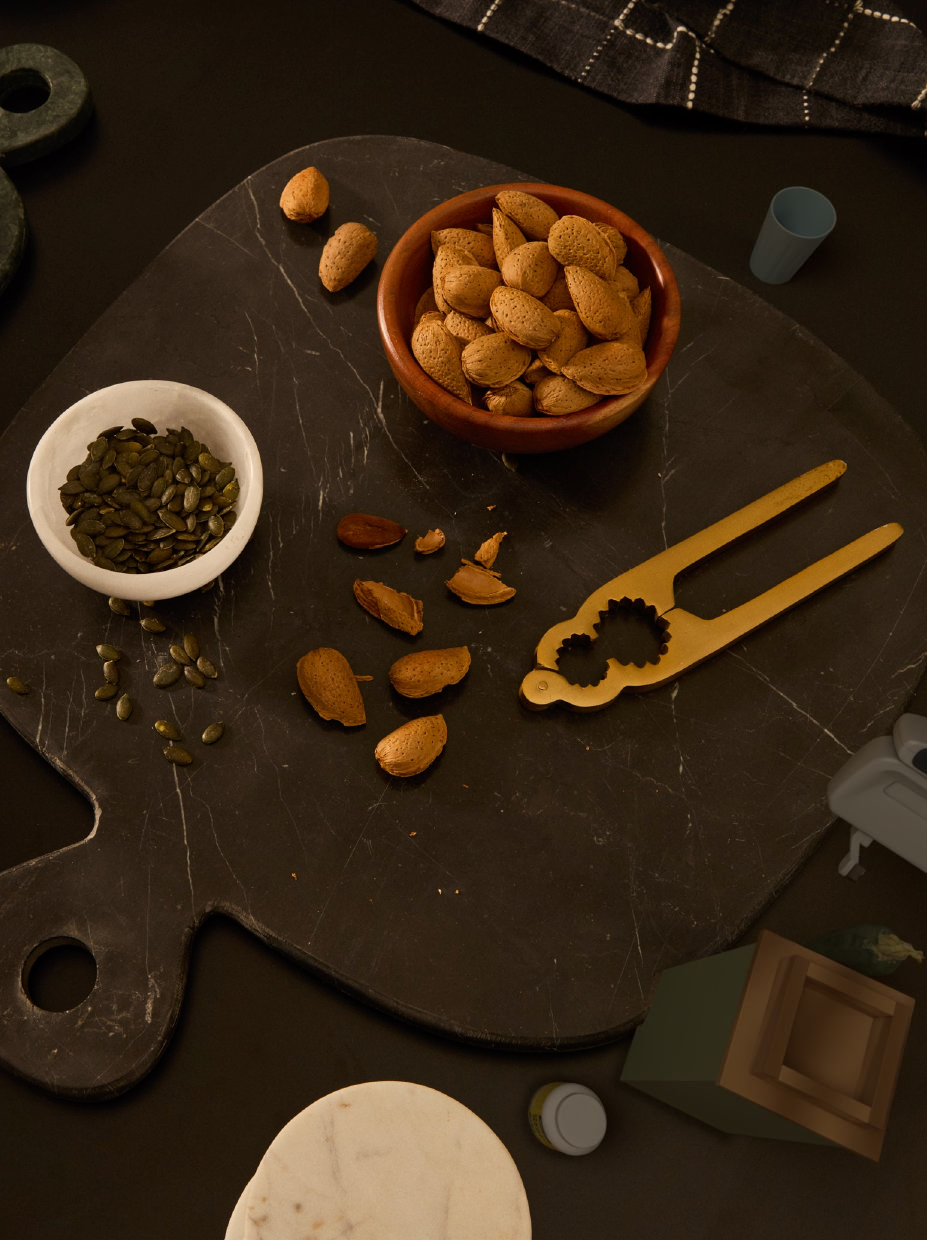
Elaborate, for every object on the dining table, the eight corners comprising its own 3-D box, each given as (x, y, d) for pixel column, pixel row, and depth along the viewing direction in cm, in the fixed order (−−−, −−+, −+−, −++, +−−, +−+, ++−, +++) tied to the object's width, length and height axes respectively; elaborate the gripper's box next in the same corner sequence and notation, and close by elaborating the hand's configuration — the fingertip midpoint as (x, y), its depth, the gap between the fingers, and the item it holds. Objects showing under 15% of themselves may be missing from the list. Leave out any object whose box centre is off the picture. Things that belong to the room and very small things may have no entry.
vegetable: (775, 948, 109) (871, 922, 91) (815, 931, 110) (917, 902, 92) (799, 995, 108) (902, 978, 89) (839, 977, 108) (948, 957, 90)
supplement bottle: (514, 1114, 102) (535, 1117, 93) (556, 1068, 104) (580, 1067, 95) (558, 1165, 101) (584, 1174, 92) (600, 1118, 102) (629, 1122, 93)
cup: (810, 289, 143) (846, 234, 134) (751, 296, 142) (783, 241, 133) (790, 241, 146) (823, 183, 137) (732, 247, 145) (762, 189, 136)
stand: (756, 1021, 106) (900, 1004, 81) (724, 1133, 102) (866, 1151, 77) (653, 972, 108) (764, 940, 82) (618, 1080, 104) (723, 1081, 78)
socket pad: (909, 1000, 81) (938, 996, 78) (871, 1162, 77) (900, 1166, 73) (759, 930, 83) (781, 923, 79) (714, 1085, 78) (735, 1085, 75)
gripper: (1119, 847, 93) (1007, 964, 98) (886, 701, 97) (790, 821, 102) (1139, 885, 87) (1018, 1008, 92) (890, 729, 91) (788, 854, 96)
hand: (896, 908), depth 97 cm, fingers open, 8 cm apart
